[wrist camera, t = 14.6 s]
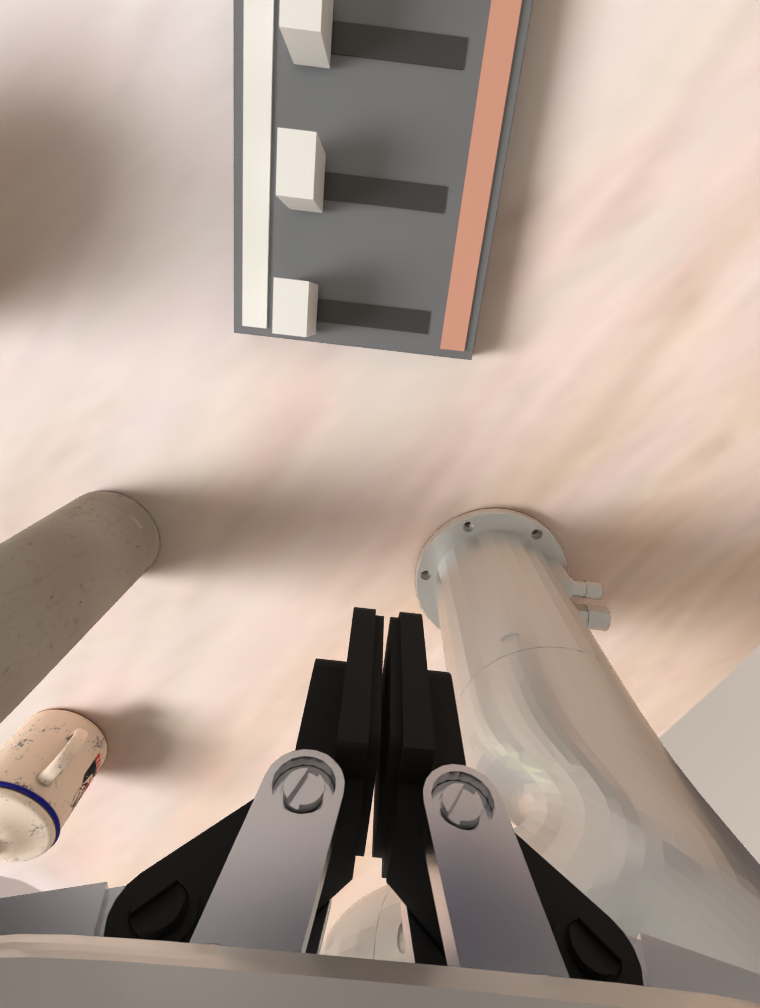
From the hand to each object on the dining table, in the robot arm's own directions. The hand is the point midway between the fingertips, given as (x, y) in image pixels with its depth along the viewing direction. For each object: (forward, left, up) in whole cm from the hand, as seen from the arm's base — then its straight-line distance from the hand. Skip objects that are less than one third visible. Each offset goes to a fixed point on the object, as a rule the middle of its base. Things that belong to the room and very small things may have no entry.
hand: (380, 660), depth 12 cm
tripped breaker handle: (+7, -22, -24) cm, 33 cm away
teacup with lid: (+28, +35, -27) cm, 52 cm away
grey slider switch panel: (+3, -18, -27) cm, 33 cm away
